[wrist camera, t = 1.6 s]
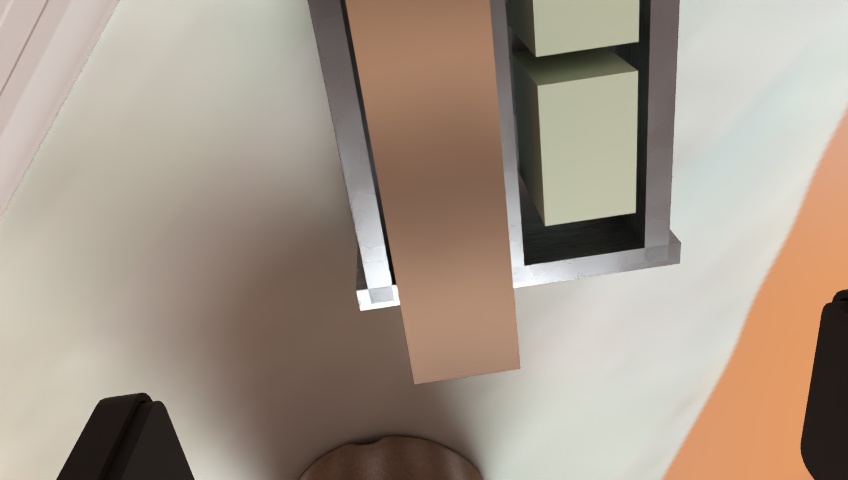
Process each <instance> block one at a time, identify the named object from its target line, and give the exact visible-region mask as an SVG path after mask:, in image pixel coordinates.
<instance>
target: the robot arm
mask: <svg viewBox="0 0 848 480" xmlns="http://www.w3.org/2000/svg"><path fill="white" fill-rule="evenodd" d="M801 455H802V458H803V461H804V463H805V466H806V468H807V469H808V471H809V473H810V474H811V476H812V477H813V478H814V480H848V289H847V290H842V291H839V292H837V293H836V295H835V296H834V297H833V301H832V302H831V303H828V304H826V305H825V306H824V308H823V311H822V315H821V321H820V327H819V333H818V339H817V346H816V352H815V358H814V364H813V370H812V377H811V383H810V390H809V395H808V401H807V408H806V414H805V420H804V426H803V432H802V438H801ZM56 480H194V477H193V475H192V472H191V470H190V467H189V465H188V462H187V460H186V457H185V455H184V452H183V450H182V447H181V445H180V442H179V440H178V437H177V435H176V432H175V430H174V427H173V425H172V422H171V420H170V417H169V415H168V412H167V410H166V407H165V406H164V404H163V403H162V402H161V401H154V402H153V401H152V399H151V398H150V396H149V395H147V394H146V393H137V394H130V395H123V396H116V397H109V398H104V399H102V400H100V402H99V403H98V404H97V405H96V407H95V409H94V411H93V413H92V415H91V416H90V418H89V420H88V422H87V424H86V426H85V428H84V429H83V431H82V433H81V435H80V437H79V439H78V440H77V442H76V444H75V446H74V448H73V450H72V452H71V453H70V455H69V457H68V459H67V461H66V463H65V464H64V466H63V468H62V470H61V472H60V474H59V476H58V477H57V479H56Z"/></svg>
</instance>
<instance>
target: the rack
mask: <svg viewBox="0 0 848 480" xmlns="http://www.w3.org/2000/svg"><path fill="white" fill-rule="evenodd" d="M679 2H680V0H639V42H633V43H626V44H619V45H613V46H606V47H607V48H608V49H610V50H611V51H612V52H614V53H615V54H616V55H618V56H619V57H620V58H622V59H623V60H624V61H626V62H627V63H628V64H630V65H631V66H632V67H634V68H635V69H636V70H638V108H637V166H636V213H630V214H623V215H617V216H610V217H603V218H597V219H590V220H583V221H576V222H570V223H563V224H556V225H550V226H545V225H544V223H543V221H542V219H541V217H540V215H539V213H538V210H537V208H536V206H535V204H534V202H533V200H532V198H531V196H530V194H529V192H528V190H527V188H526V186H525V184H524V182H523V180H522V178H521V176H520V163H519V149H518V135H517V121H516V107H515V93H514V79H513V65H512V52H518V51H524V50H529V49H528V47H527V46H526V45H525V44H524V43H523V42H522V41H521V40H520V38H519V37H518V36H517V35H516V34H515V33H514V32H513V30H512V29H511V28H510V22H509V8H508V0H490V12H491V24H492V36H493V48H494V60H495V72H496V84H497V96H498V108H499V120H500V132H501V144H502V156H503V168H504V180H505V192H506V204H507V216H508V228H509V240H510V252H511V264H512V276H513V288H517V287H524V286H531V285H538V284H544V283H551V282H558V281H564V280H571V279H578V278H585V277H591V276H598V275H605V274H612V273H618V272H625V271H632V270H638V269H645V268H652V267H659V266H665V265H672V264H679V263H680V249H681V242H680V241H679V240H678V239H677V237H676V236H675V235H674V234H673V233H672V231H671V230H670V206H671V183H672V161H673V138H674V116H675V93H676V70H677V48H678V25H679ZM308 4H309V9H310V13H311V18H312V23H313V28H314V33H315V38H316V43H317V48H318V52H319V57H320V62H321V67H322V72H323V77H324V82H325V87H326V92H327V96H328V101H329V106H330V111H331V116H332V121H333V126H334V131H335V135H336V140H337V145H338V150H339V155H340V160H341V165H342V170H343V174H344V179H345V184H346V189H347V194H348V199H349V204H350V209H351V213H352V218H353V223H354V228H355V233H356V238H357V243H358V255H357V281H356V293H357V297H358V302H359V307H360V311H363V310H370V309H376V308H383V307H390V306H396V305H400V301H399V296H398V290H397V285H396V279H395V273H394V268H393V262H392V257H391V251H390V246H389V240H388V235H387V229H386V223H385V218H384V212H383V207H382V201H381V196H380V190H379V185H378V179H377V173H376V168H375V162H374V157H373V151H372V146H371V140H370V135H369V129H368V123H367V118H366V112H365V107H364V101H363V96H362V90H361V85H360V79H359V73H358V68H357V62H356V57H355V51H354V46H353V40H352V35H351V29H350V23H349V18H348V12H347V7H346V1H345V0H308Z"/></svg>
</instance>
